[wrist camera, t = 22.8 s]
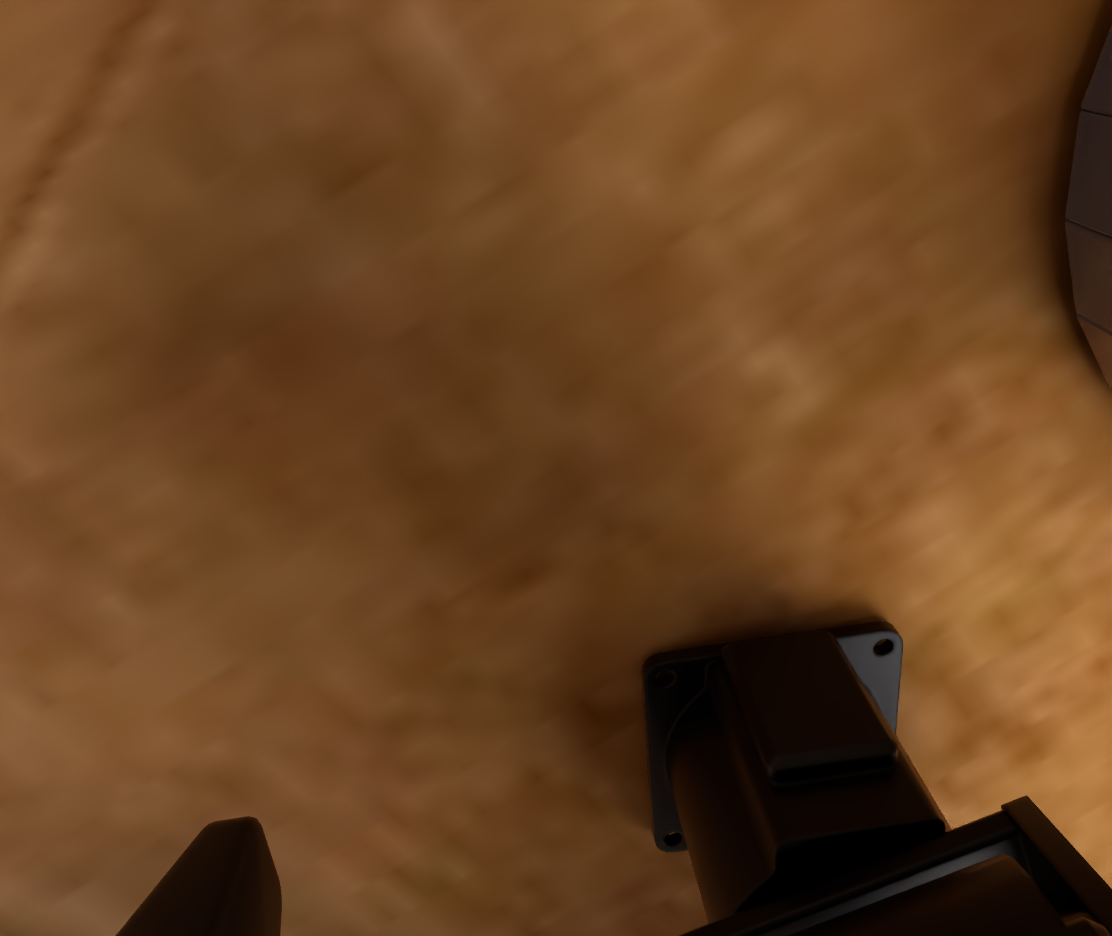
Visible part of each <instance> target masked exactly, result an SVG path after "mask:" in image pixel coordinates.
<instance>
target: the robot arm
mask: <svg viewBox="0 0 1112 936" xmlns="http://www.w3.org/2000/svg"><path fill="white" fill-rule="evenodd" d="M883 639H886V641H885V642H883V643H882V644H881V645H878V646H874V645H875V644H876V643H877V642H878V641H880V640H883ZM902 652H903V641H902V638H901V636H900V635H899V633H898V632H897V630H896V629H895V628H894V626H893V625H892V624H890V623H888V622H879V621H878V622H871V623H864V624H857V625H850V626H843V627H836V628H829V629H822V630H815V631H808V632H801V633H794V634H787V635H780V636H774V637H767V638H760V639H753V640H746V641H739V642H732V643H725V644H718V645H711V646H704V647H697V648H690V649H683V650H676V651H669V652H662V653H658V654H654V655H652V656H651V657H649V658H648V659H646V661H645V662H644V664H643V665H642V670H641V677H642V691H643V706H644V720H645V734H646V749H647V763H648V778H649V792H650V806H651V821H652V832H653V836H654V840H655V843H656V846H657V847H658V848H659V849H660V850H661V851H664V852H679V851H686V850H688V852H689V855H690V859H691V862H692V866H693V870H694V873H695V877H696V880H697V884H698V887H699V891H700V894H701V898H702V902H703V905H704V909H705V912H706V916H707V919H708V923H709V924H708V925H705V926H702V927H700V928H697V929H695V930H692V931H689V932H687V933H684V934H682V935H679V936H1112V889H1111V888H1110V887H1109V886H1108V884H1107V883H1106V882H1105V881H1104V880H1103V879H1102V878H1101V877H1100V876H1099V875H1098V873H1097V872H1096V871H1095V870H1094V869H1093V868H1092V867H1091V866H1090V865H1089V863H1088V862H1087V861H1086V860H1085V859H1084V858H1083V857H1082V856H1081V855H1080V854H1079V852H1078V851H1077V850H1076V849H1075V848H1074V847H1073V846H1072V845H1071V844H1070V843H1069V841H1068V840H1067V839H1066V838H1065V837H1064V836H1063V835H1062V834H1061V833H1060V832H1059V830H1058V829H1057V828H1056V827H1055V826H1054V825H1053V824H1052V823H1051V822H1050V820H1049V819H1048V818H1047V817H1046V816H1045V815H1044V814H1043V813H1042V812H1041V811H1040V809H1039V808H1038V807H1037V806H1036V805H1035V804H1034V803H1033V802H1032V801H1031V800H1030V798H1029V797H1028V796H1024V797H1021V798H1019V799H1016V800H1013V801H1011V802H1008V803H1006V804H1003V805H1001V809H1002V810H1001V811H999V812H996V813H994V814H991V815H988V816H986V817H983V818H981V819H978V820H976V821H973V822H970V823H968V824H965V825H963V826H960V827H958V828H955V829H951V827H950V826H949V824H948V822H947V821H946V819H945V817H944V816H943V814H942V812H941V811H940V809H939V807H938V805H937V804H936V802H935V800H934V799H933V797H932V795H931V794H930V792H929V790H928V789H927V787H926V785H925V784H924V782H923V780H922V779H921V777H920V775H919V773H918V772H917V770H916V768H915V767H914V765H913V763H912V762H911V760H910V758H909V757H908V755H907V753H906V752H905V750H904V748H903V746H902V745H901V743H900V741H899V740H898V738H897V736H896V724H897V712H898V700H899V688H900V676H901V664H902ZM662 671H670V672H669V673H668V674H667V675H666V676H663V677H656V675H657V674H658V673H659V672H662ZM672 832H676V833H674V834H671V835H669V834H670V833H672ZM281 913H282V896H281V887H280V881H279V878H278V875H277V871H276V868H275V865H274V862H273V859H272V856H271V853H270V850H269V847H268V844H267V840H266V837H265V834H264V831H263V828H262V826H261V824H260V823H259V821H258V820H257V819H256V818H254V817H249V816H248V817H241V818H234V819H228V820H221V821H215V822H212V823H210V824H208V825H207V826H206V827H205V828H203V830H202V831H201V832H200V833H199V834H198V835H197V837H196V838H195V839H194V840H193V842H192V843H191V844H190V845H189V846H188V848H187V849H186V850H185V851H184V853H183V854H182V855H181V856H180V858H179V859H178V860H177V861H176V862H175V864H174V865H173V866H172V867H171V869H170V870H169V871H168V872H167V873H166V875H165V876H164V877H163V878H162V880H161V881H160V882H159V883H158V884H157V886H156V887H155V888H154V889H153V891H152V892H151V893H150V894H149V896H148V897H147V898H146V899H145V900H144V902H143V903H142V904H141V905H140V907H139V908H138V909H137V910H136V911H135V913H134V914H133V915H132V916H131V918H130V919H129V920H128V921H127V923H126V924H125V925H124V926H123V927H122V929H121V930H120V931H119V932H118V934H117V935H116V936H280V930H281Z"/></svg>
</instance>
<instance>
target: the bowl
mask: <svg viewBox="0 0 1112 936" xmlns="http://www.w3.org/2000/svg"><path fill="white" fill-rule="evenodd" d="M1081 109H1083V111H1081V112H1080V114H1079V119H1078V126H1077V133H1076V140H1075V147H1074V154H1073V161H1072V168H1071V175H1070V183H1069V190H1068V197H1067V204H1066V211H1065V218H1066V219H1067V221H1065V231H1066V239H1067V247H1068V255H1069V264H1070V272H1071V280H1072V288H1073V297H1074V305H1075V311H1076V312H1077V314H1076V315H1077V319H1078V321H1079V323H1080V325H1081V327H1082V330H1083V332H1084V334H1085V336H1086V338H1087V340H1088V342H1089V345H1090V347H1091V349H1092V351H1093V353H1094V355H1095V358H1096V360H1097V362H1098V364H1099V366H1100V368H1101V370H1102V373H1103V375H1104V377H1105V379H1106V381H1107V383H1108V386H1109V387H1110V389H1111V390H1112V24H1111V27H1110V29H1109V32H1108V35H1107V37H1106V40H1105V43H1104V45H1103V48H1102V51H1101V53H1100V56H1099V59H1098V61H1097V64H1096V67H1095V69H1094V72H1093V75H1092V77H1091V80H1090V83H1089V85H1088V88H1087V91H1086V93H1085V96H1084V98H1083V101H1082V104H1081Z"/></svg>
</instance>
